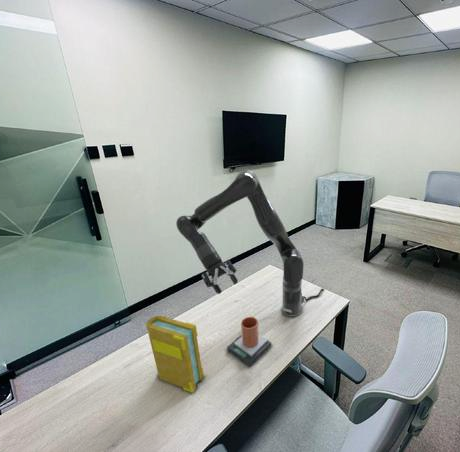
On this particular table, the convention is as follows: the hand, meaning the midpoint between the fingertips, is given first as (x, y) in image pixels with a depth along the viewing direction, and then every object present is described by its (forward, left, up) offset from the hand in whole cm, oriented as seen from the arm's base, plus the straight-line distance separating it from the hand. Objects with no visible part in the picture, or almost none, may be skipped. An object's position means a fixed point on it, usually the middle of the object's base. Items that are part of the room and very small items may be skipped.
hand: (228, 288), depth 110 cm
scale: (+1, +12, -25) cm, 27 cm away
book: (+27, +1, -25) cm, 37 cm away
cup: (0, +12, -22) cm, 25 cm away
